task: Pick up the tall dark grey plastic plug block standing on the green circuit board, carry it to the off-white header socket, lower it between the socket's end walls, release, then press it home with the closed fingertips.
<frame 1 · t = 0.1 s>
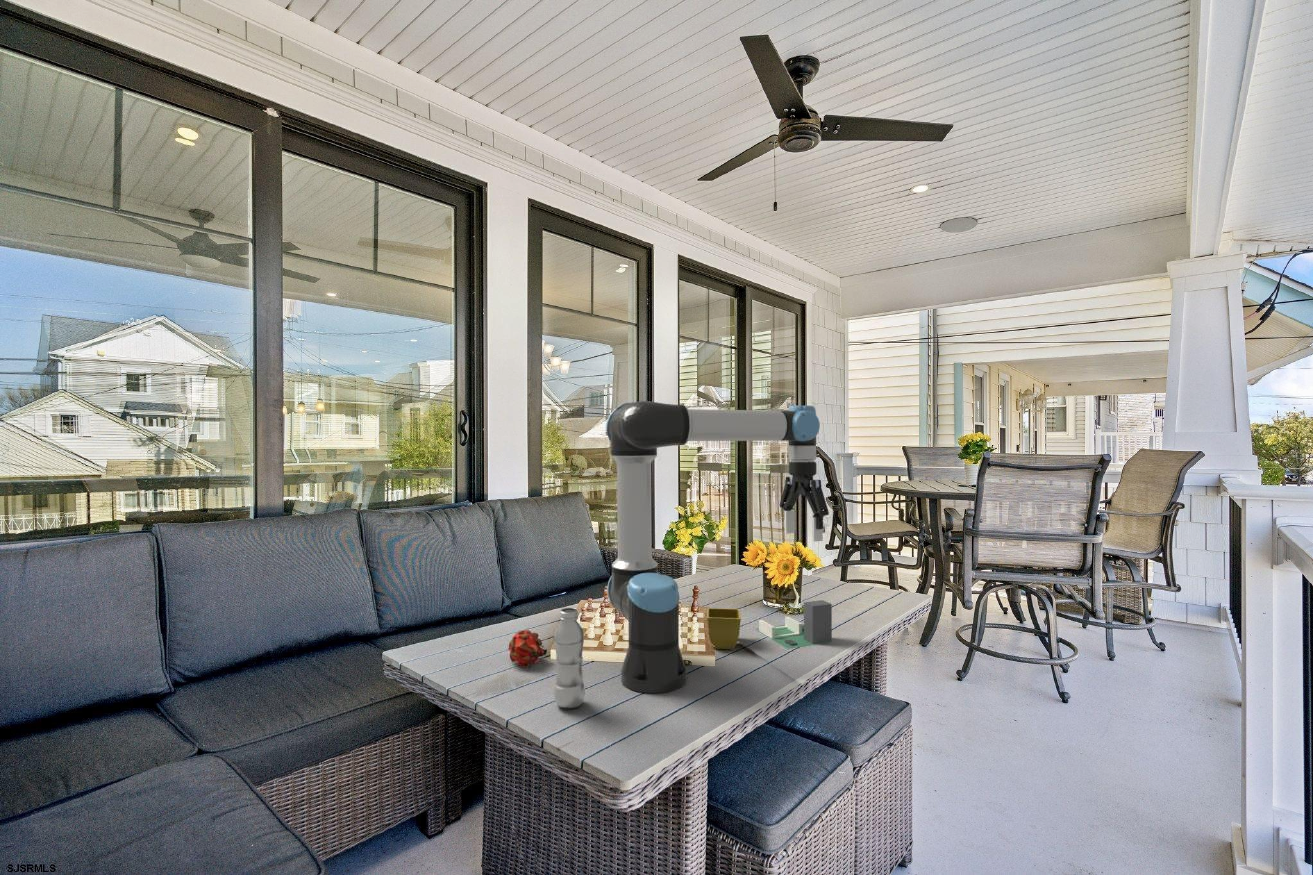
hand: (803, 537, 170), 28 cm above the table, fingers open, 13 cm apart
flower pot: (723, 647, 162), on the table
plug: (817, 640, 163), point 1 cm above the table, touching board
board: (794, 639, 168), on the table
dragon fruit: (526, 664, 151), on the table
plastic bottle: (569, 706, 128), on the table
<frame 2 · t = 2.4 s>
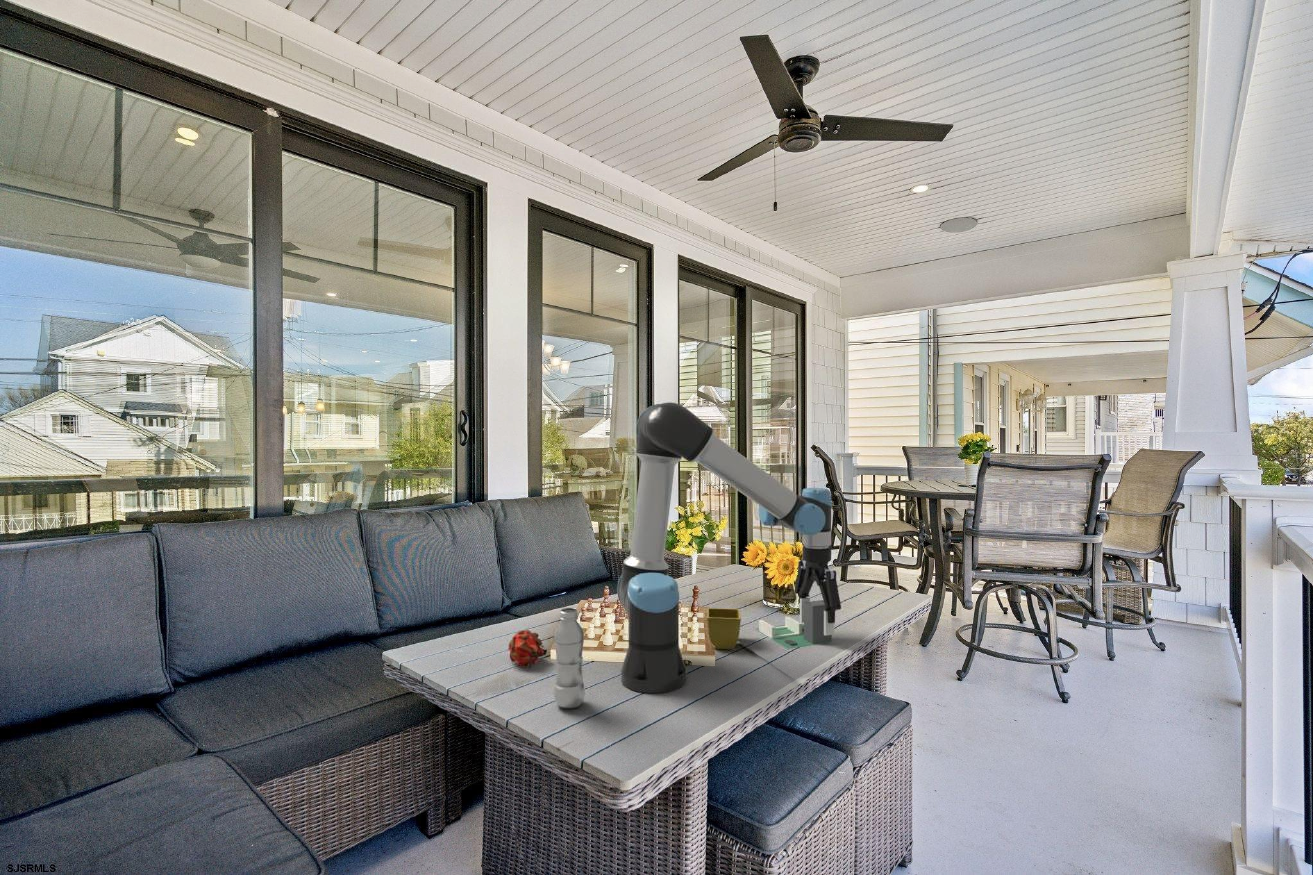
hand: (816, 627, 164), 4 cm above the table, fingers open, 10 cm apart
nothing on the table moved.
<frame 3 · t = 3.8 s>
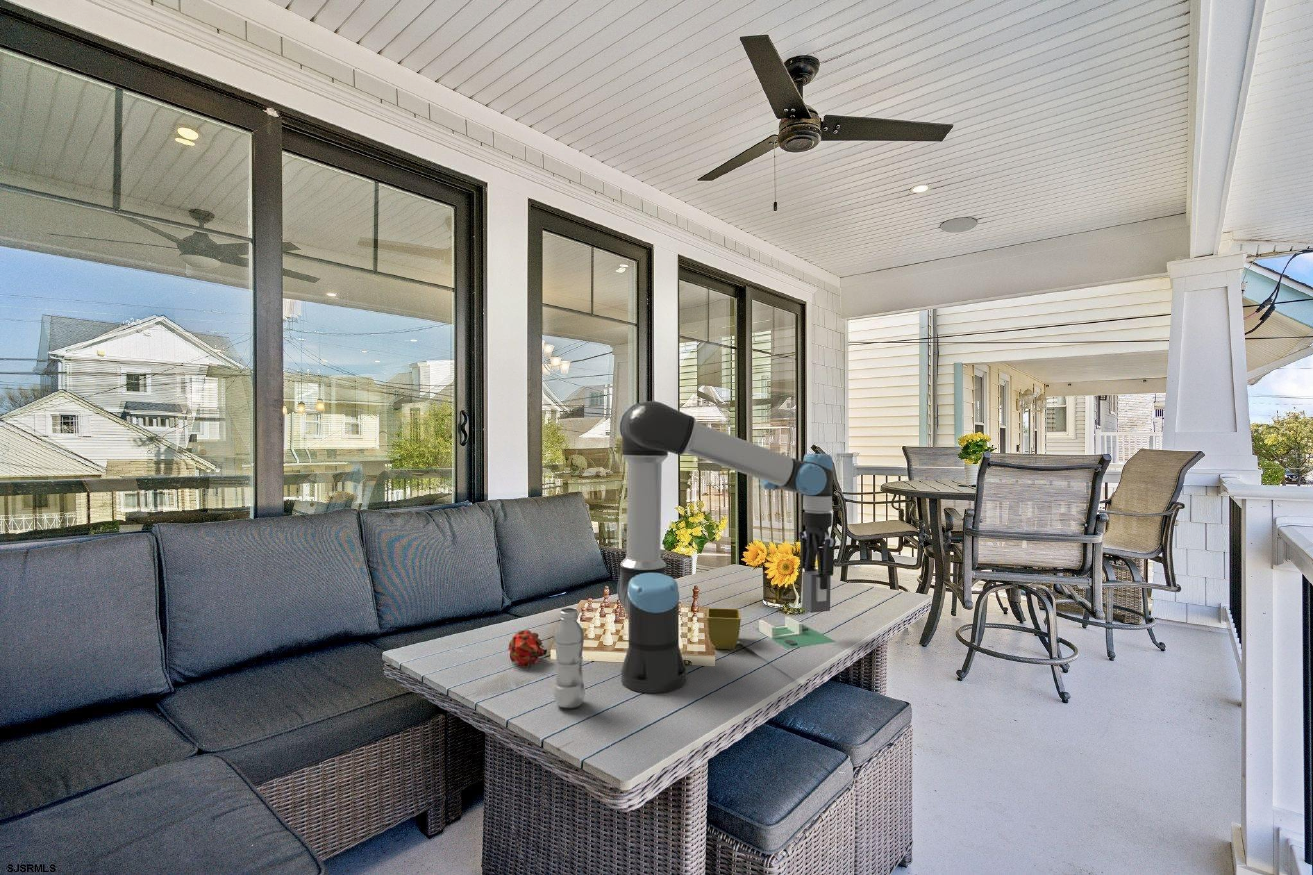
hand: (815, 598, 163), 12 cm above the table, fingers closed on plug, 4 cm apart
plug: (816, 609, 163), point 9 cm above the table, touching gripper
everything else where it was.
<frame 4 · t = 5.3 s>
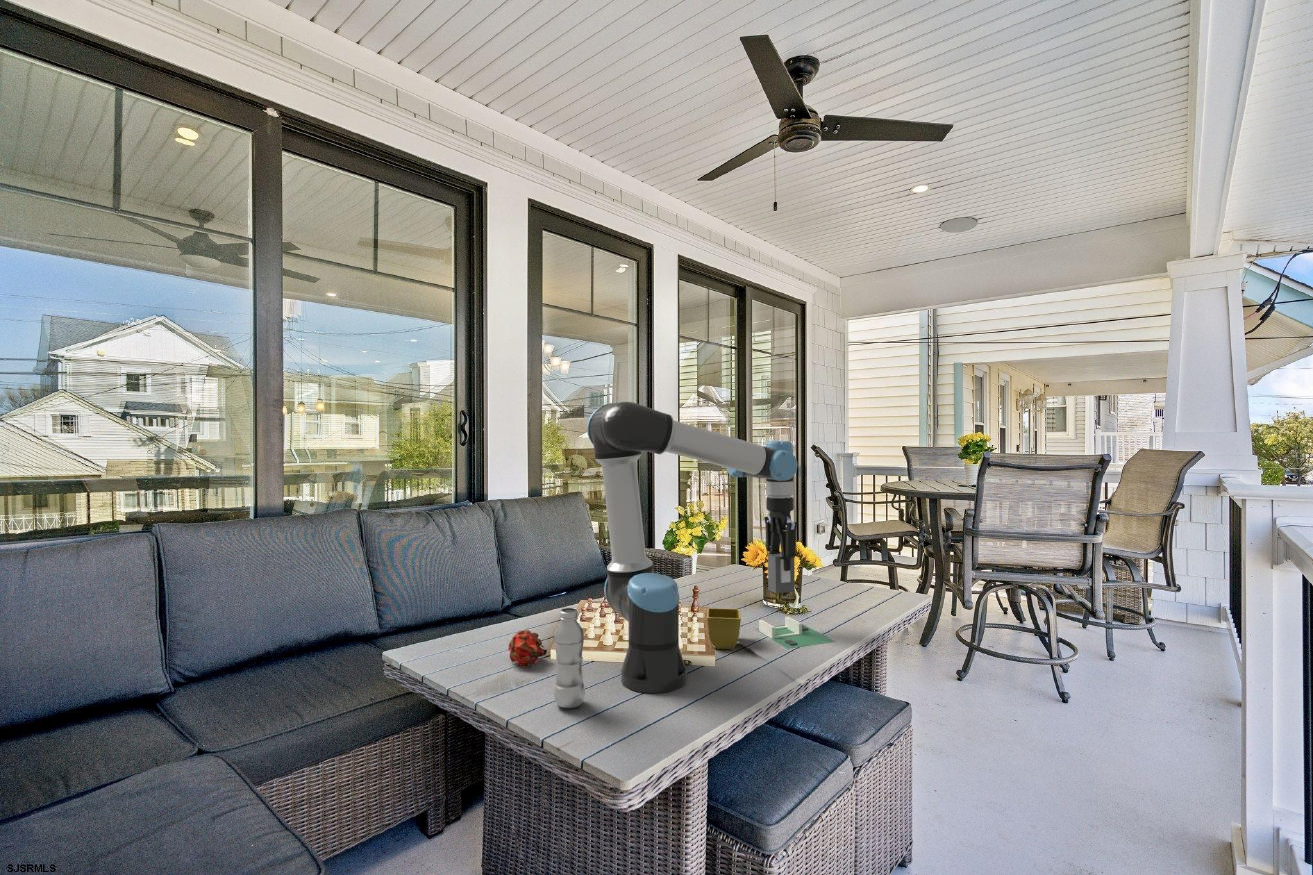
hand: (780, 579, 169), 16 cm above the table, fingers closed on plug, 4 cm apart
plug: (781, 590, 170), point 13 cm above the table, touching gripper
everything else where it was.
when the fingers open (4 cm above the table, at t = 7.1 s): plug stays where it is, resting on board.
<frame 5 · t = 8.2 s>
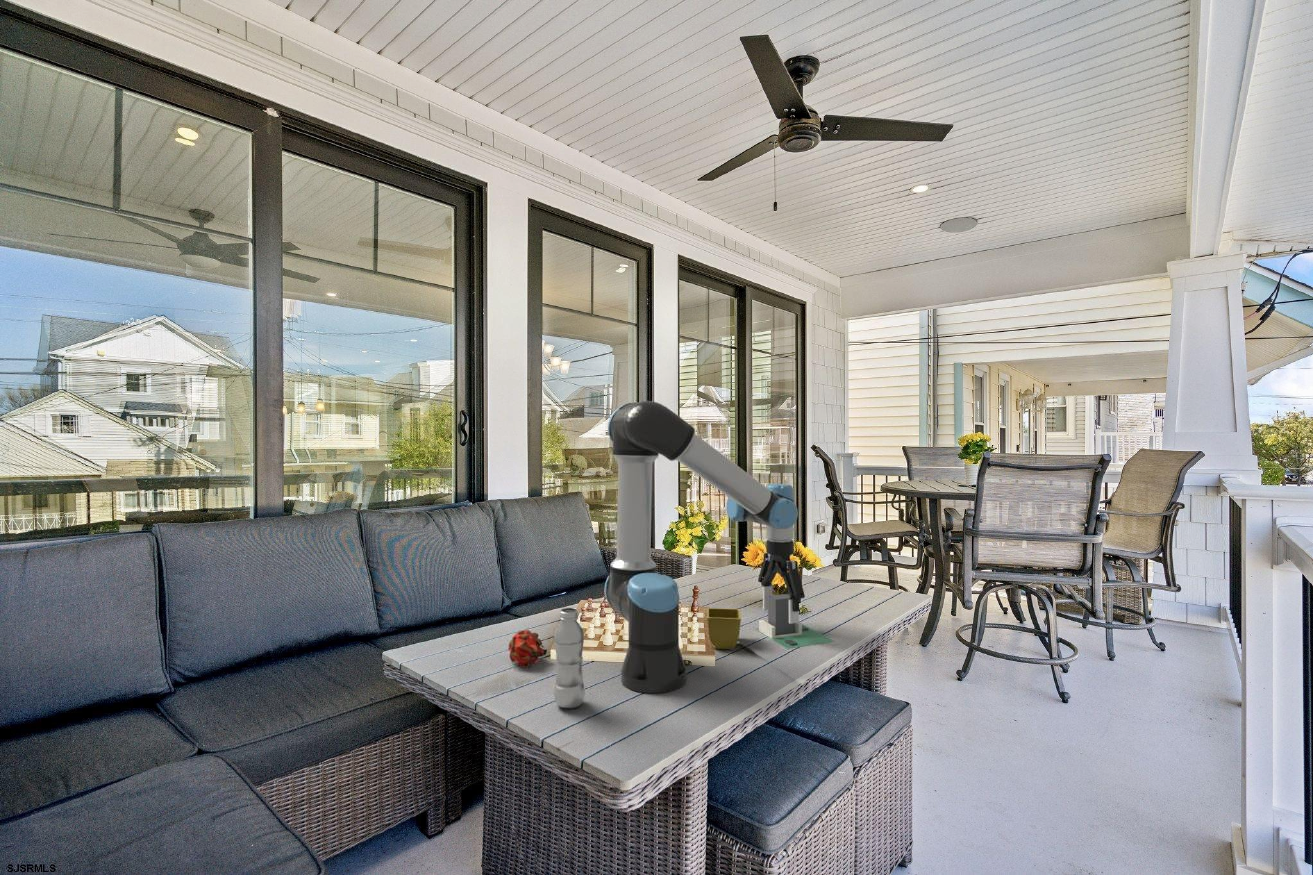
hand: (780, 615, 169), 6 cm above the table, fingers open, 13 cm apart
plug: (781, 632, 170), point 1 cm above the table, touching board
everything else where it was.
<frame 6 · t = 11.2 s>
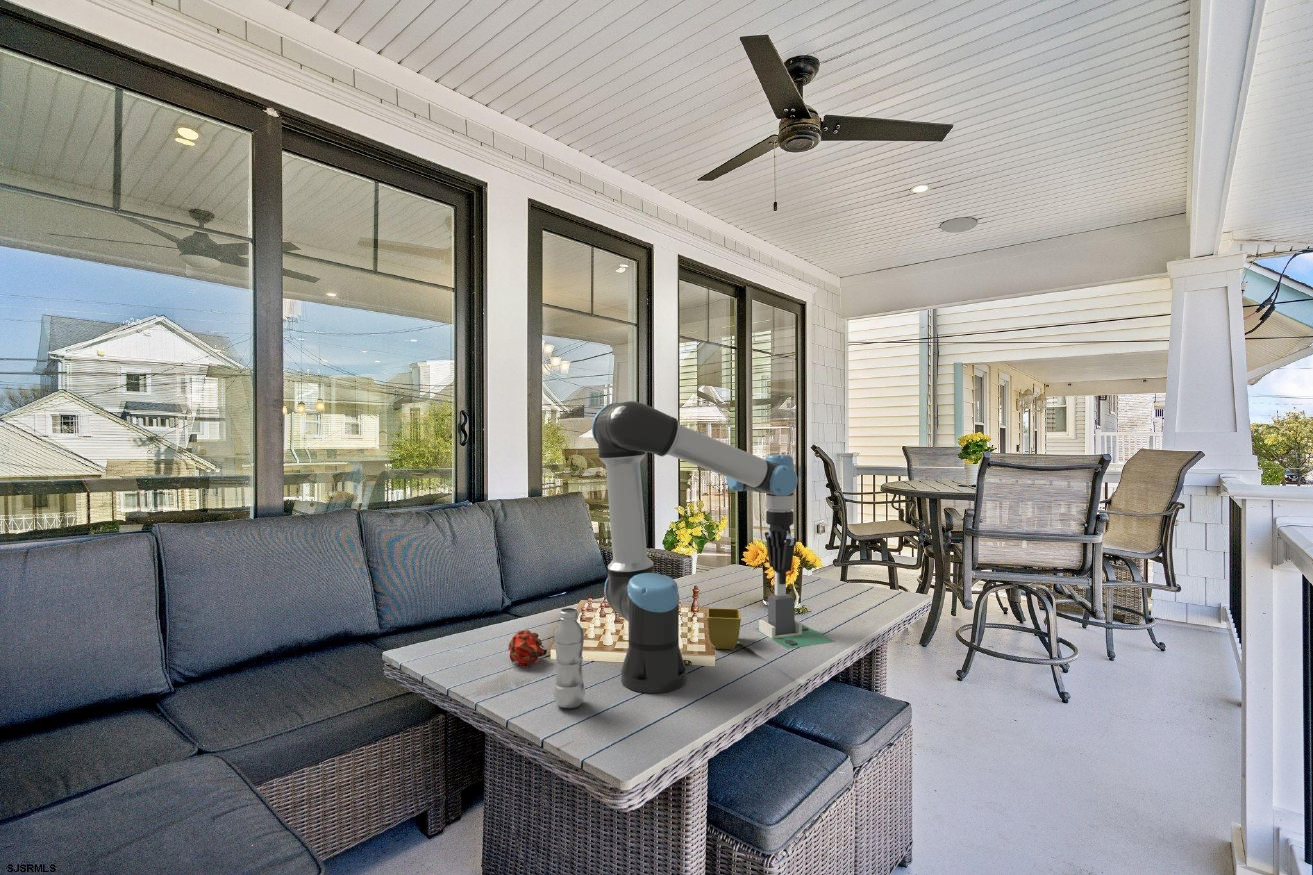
hand: (780, 594, 169), 12 cm above the table, fingers closed
nothing on the table moved.
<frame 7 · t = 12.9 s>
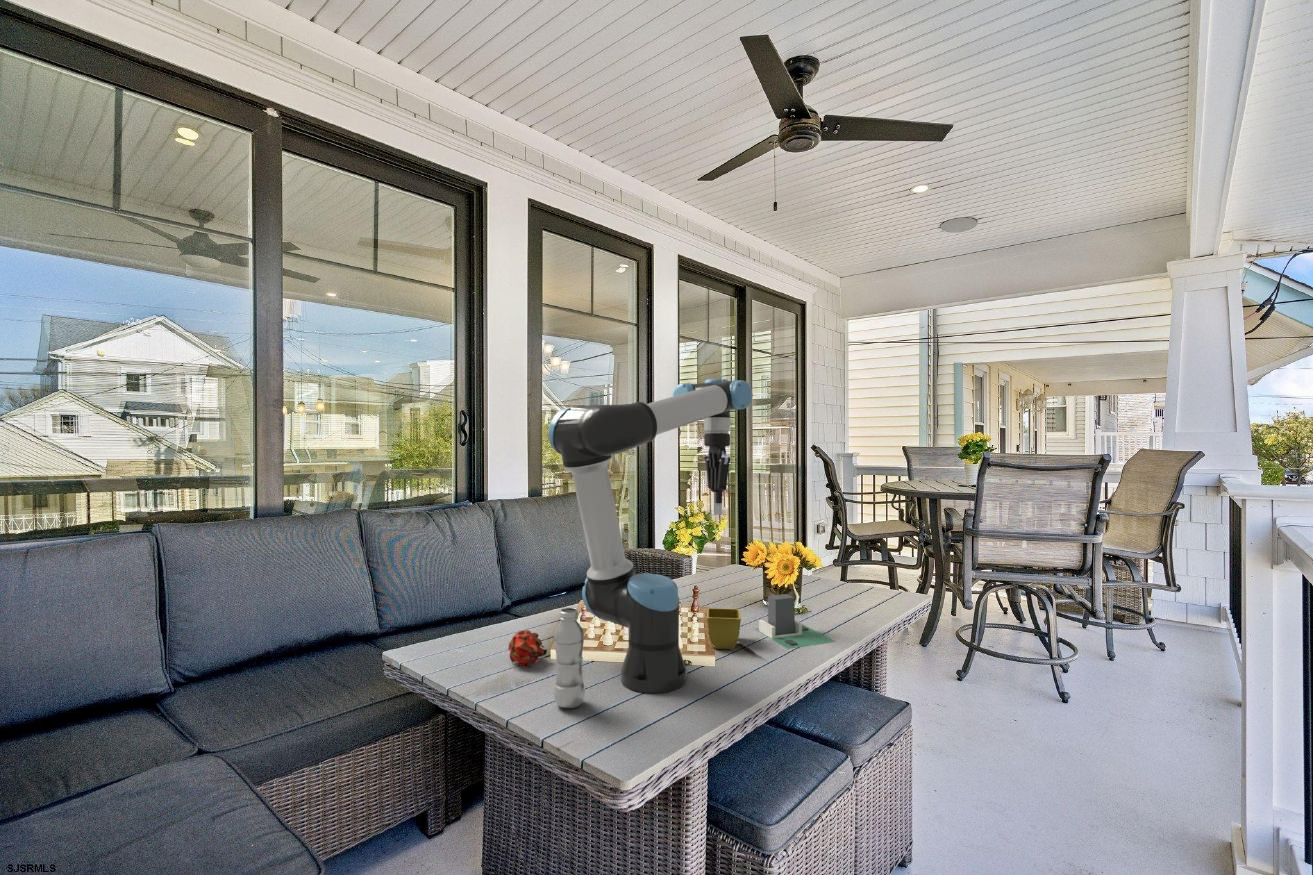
hand: (716, 514, 176), 33 cm above the table, fingers closed
nothing on the table moved.
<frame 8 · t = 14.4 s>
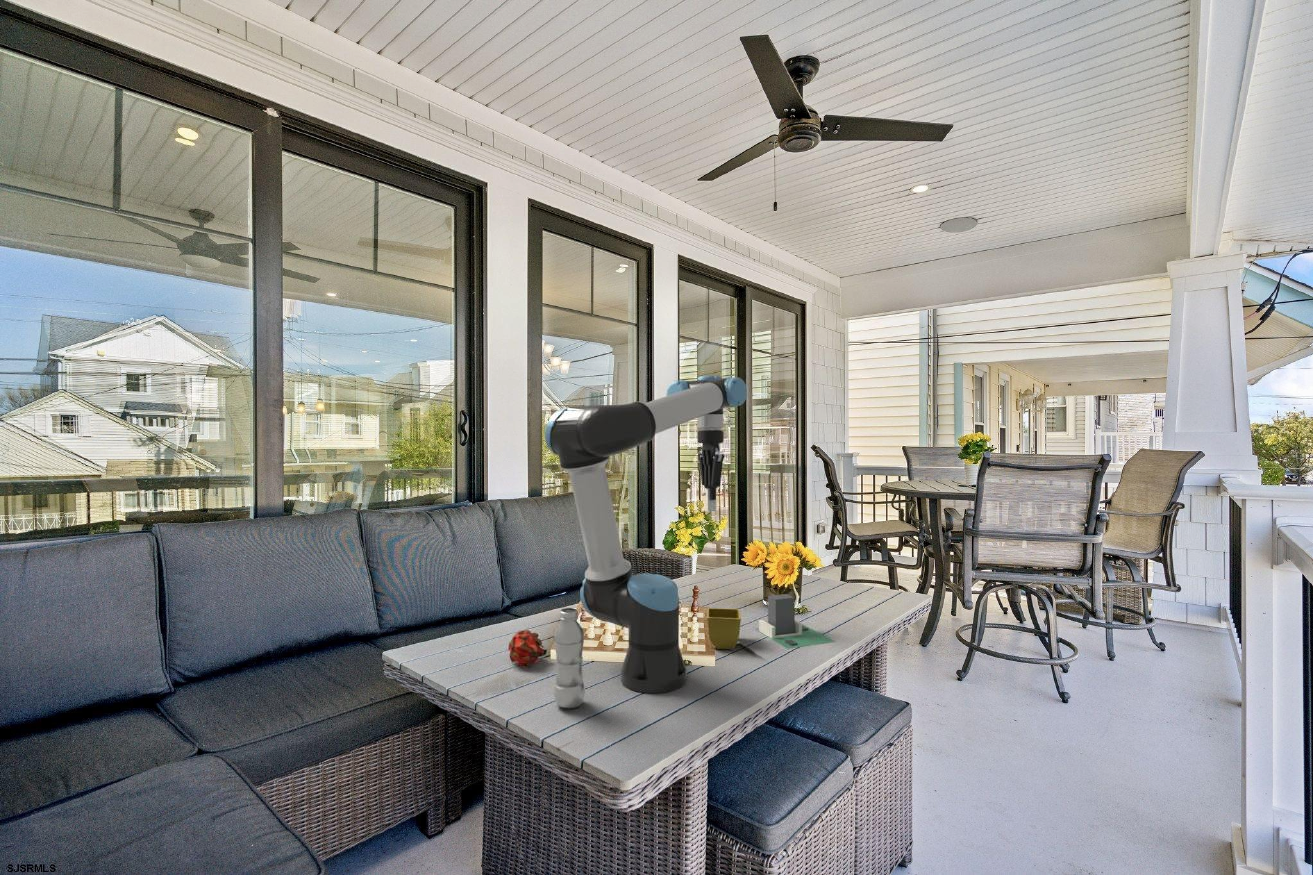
hand: (710, 510, 176), 34 cm above the table, fingers closed
nothing on the table moved.
at the end: plug 0.3 cm from the target spot on the board, point 1.2 cm above the board's base; plug tilted 0°; the gripper is holding nothing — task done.
